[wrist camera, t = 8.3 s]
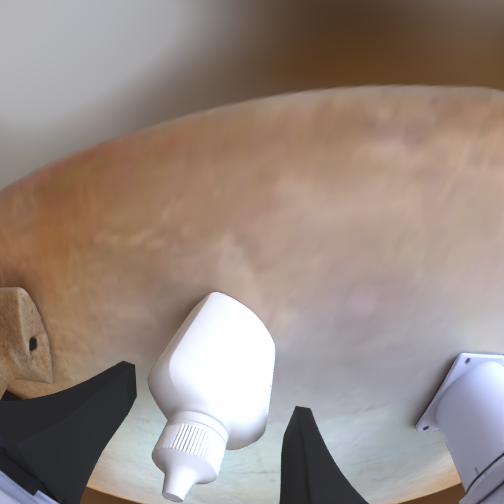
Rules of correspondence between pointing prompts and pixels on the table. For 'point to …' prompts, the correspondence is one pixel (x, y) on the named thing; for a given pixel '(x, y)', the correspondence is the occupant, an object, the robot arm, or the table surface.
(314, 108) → the table surface
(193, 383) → the eye dropper bottle
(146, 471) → the table surface
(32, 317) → the stone cup
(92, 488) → the table surface
